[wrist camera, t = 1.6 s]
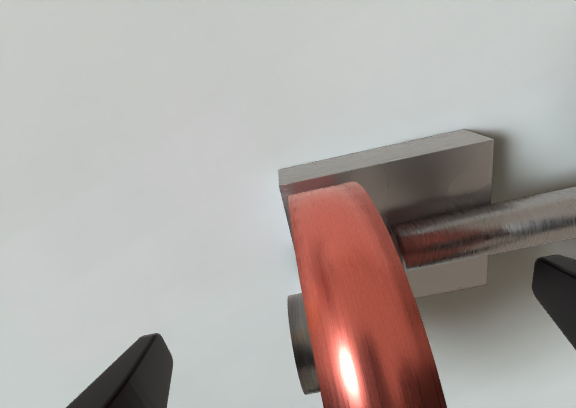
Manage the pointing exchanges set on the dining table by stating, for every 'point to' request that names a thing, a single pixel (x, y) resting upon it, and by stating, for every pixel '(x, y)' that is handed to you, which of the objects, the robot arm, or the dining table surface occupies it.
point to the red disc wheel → (396, 259)
